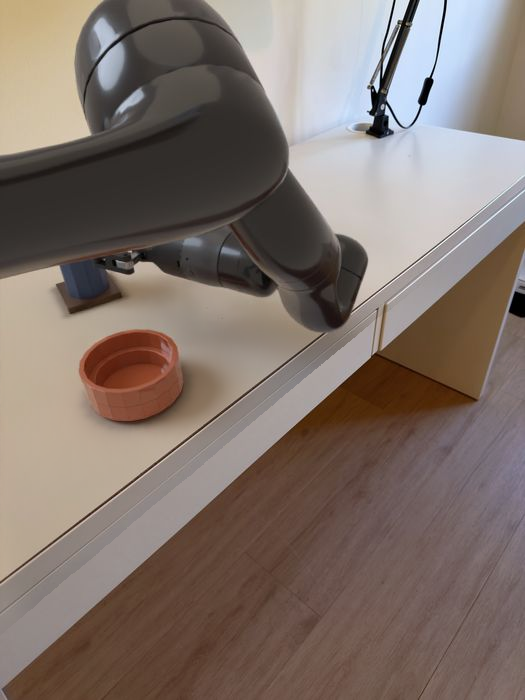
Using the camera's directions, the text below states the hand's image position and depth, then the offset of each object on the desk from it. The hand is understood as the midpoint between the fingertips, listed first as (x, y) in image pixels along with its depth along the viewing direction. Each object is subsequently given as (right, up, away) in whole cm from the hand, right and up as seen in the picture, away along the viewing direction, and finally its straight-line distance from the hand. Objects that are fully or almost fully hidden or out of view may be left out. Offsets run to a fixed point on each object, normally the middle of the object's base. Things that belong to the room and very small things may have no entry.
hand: (103, 226), depth 70 cm
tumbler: (-5, -7, +10) cm, 13 cm away
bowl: (+6, -21, -7) cm, 23 cm away
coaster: (-5, -8, +11) cm, 14 cm away
